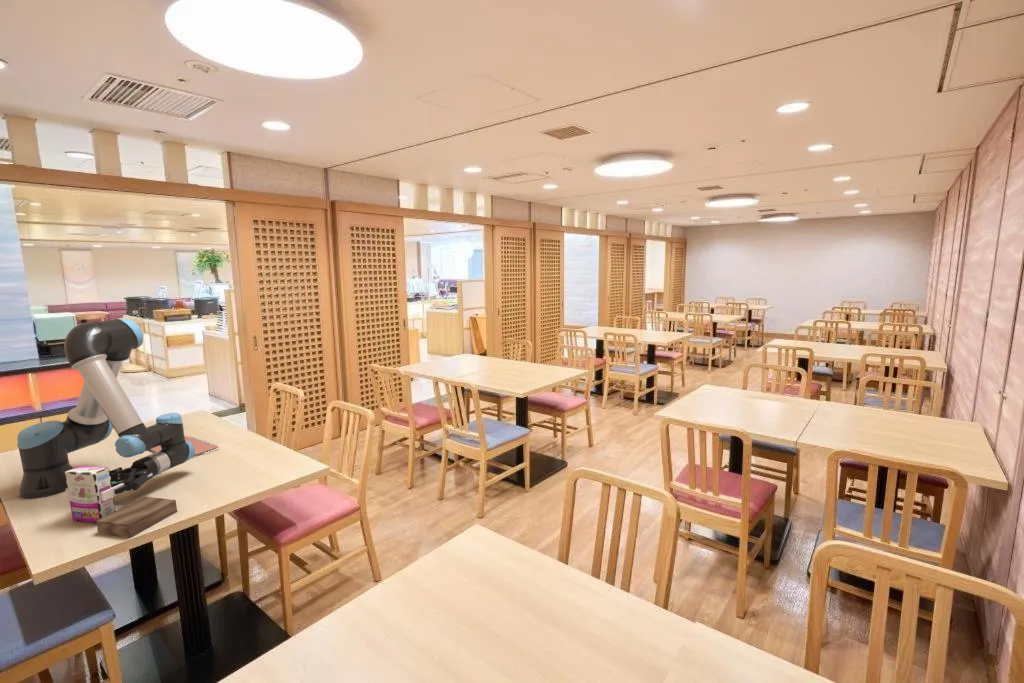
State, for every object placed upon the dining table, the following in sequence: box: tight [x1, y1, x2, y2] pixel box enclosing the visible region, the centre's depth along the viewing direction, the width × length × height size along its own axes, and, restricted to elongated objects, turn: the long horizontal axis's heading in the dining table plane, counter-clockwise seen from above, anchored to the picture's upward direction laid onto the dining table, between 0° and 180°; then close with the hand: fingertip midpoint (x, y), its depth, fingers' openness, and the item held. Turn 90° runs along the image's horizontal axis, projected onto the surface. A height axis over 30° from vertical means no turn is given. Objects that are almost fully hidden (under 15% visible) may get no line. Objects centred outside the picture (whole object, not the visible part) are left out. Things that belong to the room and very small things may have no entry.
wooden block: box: [96, 496, 178, 538], centre depth 144 cm, size 12×15×4 cm
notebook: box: [149, 435, 219, 458], centre depth 203 cm, size 27×17×2 cm, turn 59°
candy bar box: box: [65, 465, 117, 524], centre depth 146 cm, size 11×5×16 cm, turn 81°
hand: (84, 495), depth 144 cm, fingers open, 13 cm apart
